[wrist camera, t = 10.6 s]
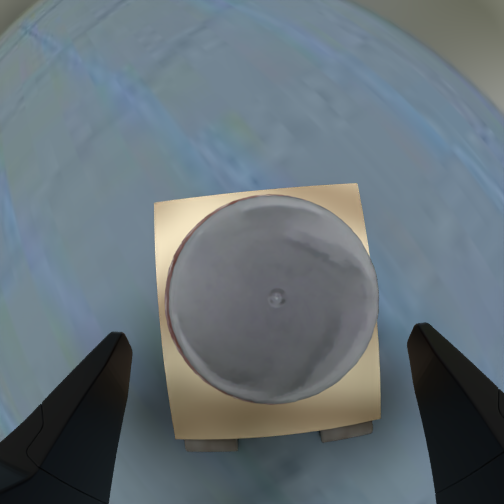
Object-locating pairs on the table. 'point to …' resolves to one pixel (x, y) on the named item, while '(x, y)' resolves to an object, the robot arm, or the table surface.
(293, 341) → the supplement bottle
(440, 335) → the robot arm
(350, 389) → the board
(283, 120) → the table surface
